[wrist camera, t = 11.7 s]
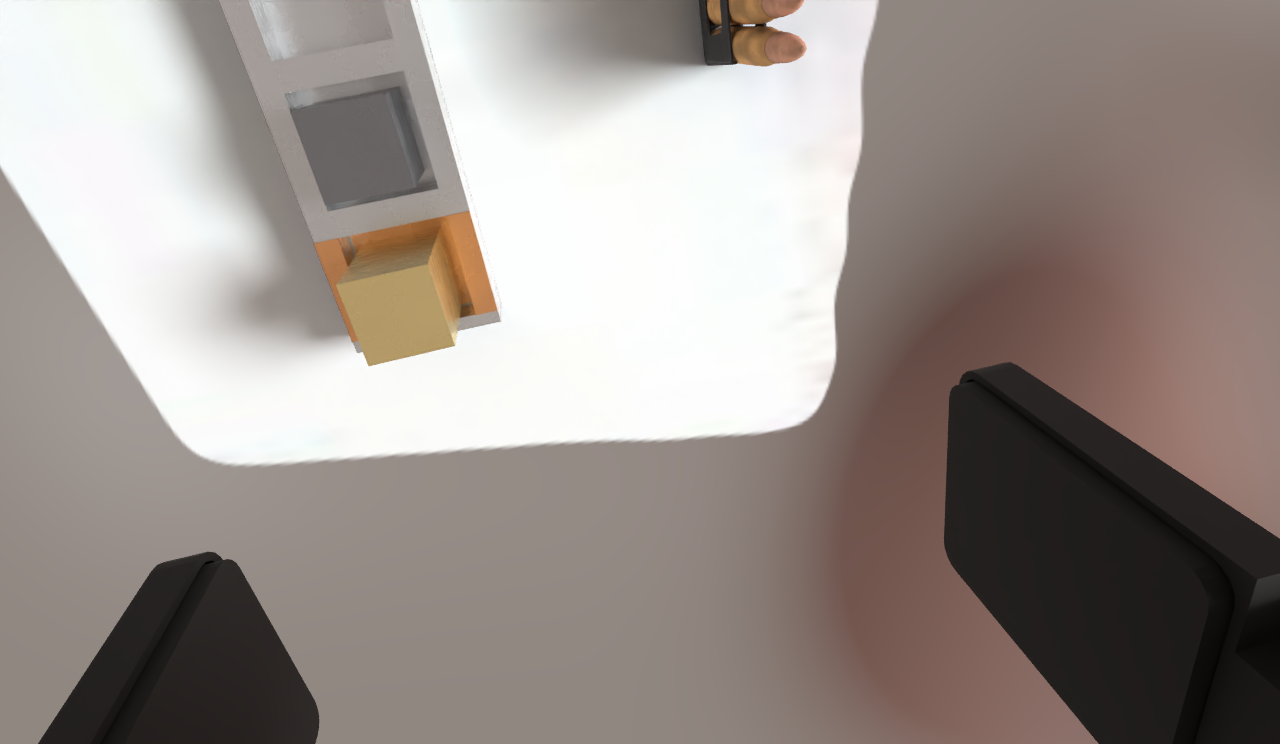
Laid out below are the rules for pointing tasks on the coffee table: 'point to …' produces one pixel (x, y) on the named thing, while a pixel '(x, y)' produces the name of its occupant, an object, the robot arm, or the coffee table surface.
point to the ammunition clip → (748, 32)
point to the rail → (349, 65)
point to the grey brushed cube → (359, 145)
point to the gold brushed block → (402, 296)
